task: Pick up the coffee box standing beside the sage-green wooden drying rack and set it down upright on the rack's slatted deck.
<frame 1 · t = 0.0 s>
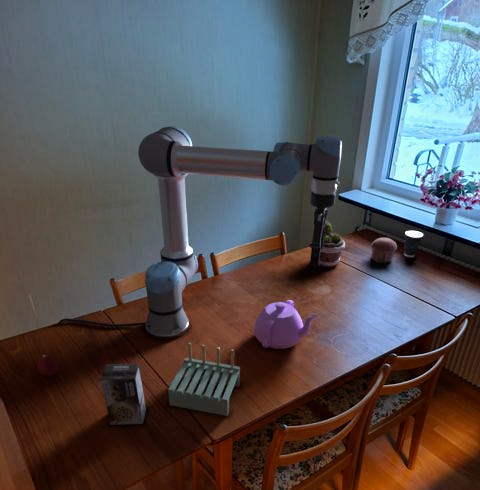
hand: (316, 256, 146), 28 cm above the table, tool pointing down, fingers open, 13 cm apart
rack: (205, 394, 131), on the table
flowerpot: (326, 263, 207), on the table
onion: (50, 375, 138), on the table
dixie cup: (409, 255, 215), on the table
coffee box: (128, 416, 124), on the table
teapot: (284, 340, 155), on the table
muffin: (381, 259, 211), on the table
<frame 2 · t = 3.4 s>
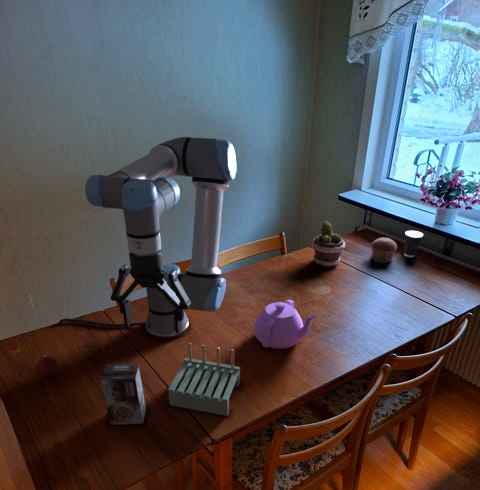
hand: (153, 327, 115), 26 cm above the table, tool pointing down, fingers open, 13 cm apart
nothing on the table moved.
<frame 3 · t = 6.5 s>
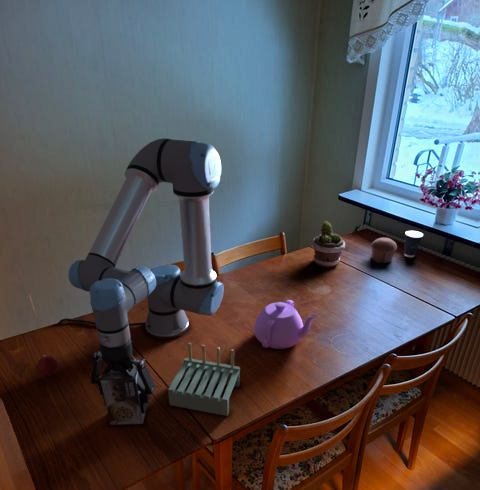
hand: (126, 406, 121), 4 cm above the table, tool pointing down, fingers closed on coffee box, 10 cm apart
coffee box: (128, 416, 124), on the table, touching gripper
everything else where it was.
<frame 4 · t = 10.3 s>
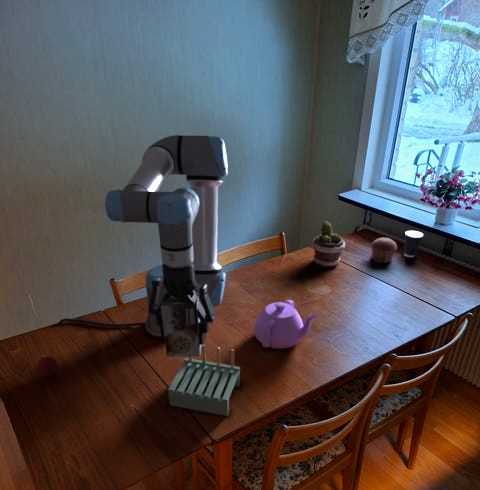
hand: (183, 338, 118), 22 cm above the table, tool pointing down, fingers closed on coffee box, 10 cm apart
coffee box: (184, 350, 120), point 18 cm above the table, touching gripper
everything else where it was.
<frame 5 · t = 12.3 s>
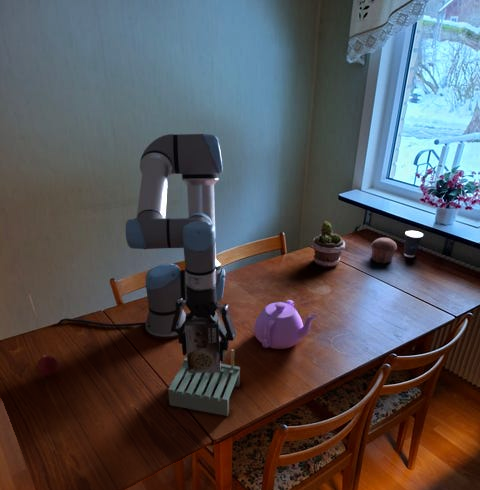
hand: (204, 355, 124), 14 cm above the table, tool pointing down, fingers closed on coffee box, 10 cm apart
coffee box: (204, 366, 126), point 10 cm above the table, touching gripper
everything else where it was.
when the fingers open (10 cm above the table, at t = 14.0 s): coffee box stays where it is, resting on rack.
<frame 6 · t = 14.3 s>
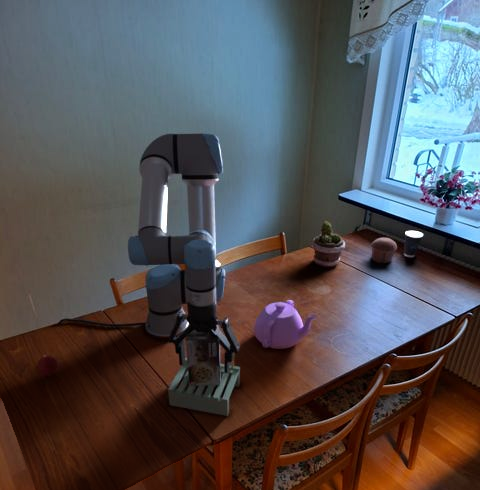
hand: (204, 366, 126), 11 cm above the table, tool pointing down, fingers open, 12 cm apart
coffee box: (205, 379, 128), point 6 cm above the table, touching rack
everything else where it was.
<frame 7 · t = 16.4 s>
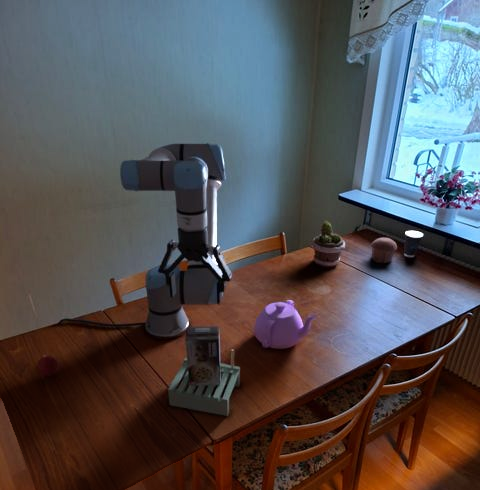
hand: (196, 298, 125), 27 cm above the table, tool pointing down, fingers open, 13 cm apart
nothing on the table moved.
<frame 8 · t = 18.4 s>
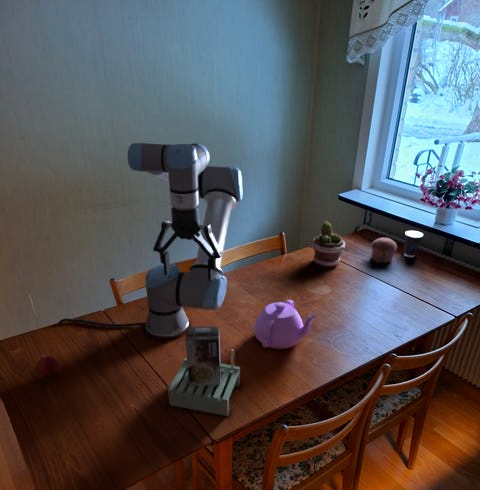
hand: (188, 276, 132), 29 cm above the table, tool pointing down, fingers open, 13 cm apart
nothing on the table moved.
at the end: coffee box inside the target area on the rack (0.1 cm from its centre), point 5.8 cm above the rack's base; coffee box tilted 0°; the gripper is holding nothing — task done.
